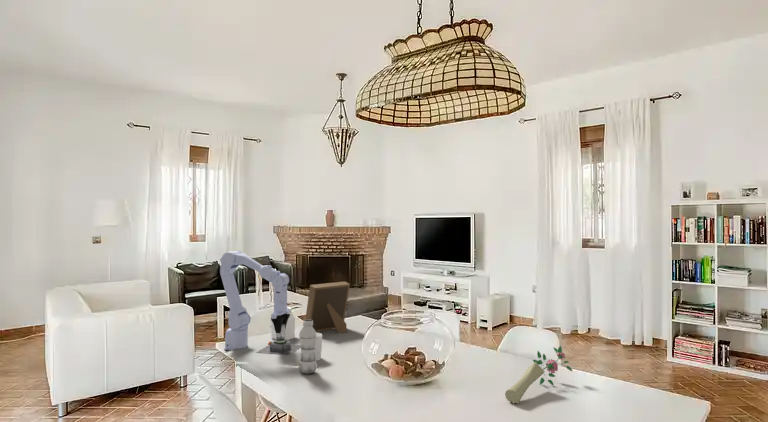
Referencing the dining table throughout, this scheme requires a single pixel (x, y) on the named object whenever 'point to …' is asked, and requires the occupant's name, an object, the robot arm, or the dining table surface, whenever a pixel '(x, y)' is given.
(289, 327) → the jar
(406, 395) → the dining table surface
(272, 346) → the stand base
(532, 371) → the flower vase
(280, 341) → the silver metal canister
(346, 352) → the dining table surface
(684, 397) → the dining table surface
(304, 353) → the plastic bottle
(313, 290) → the photo frame
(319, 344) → the white cup
